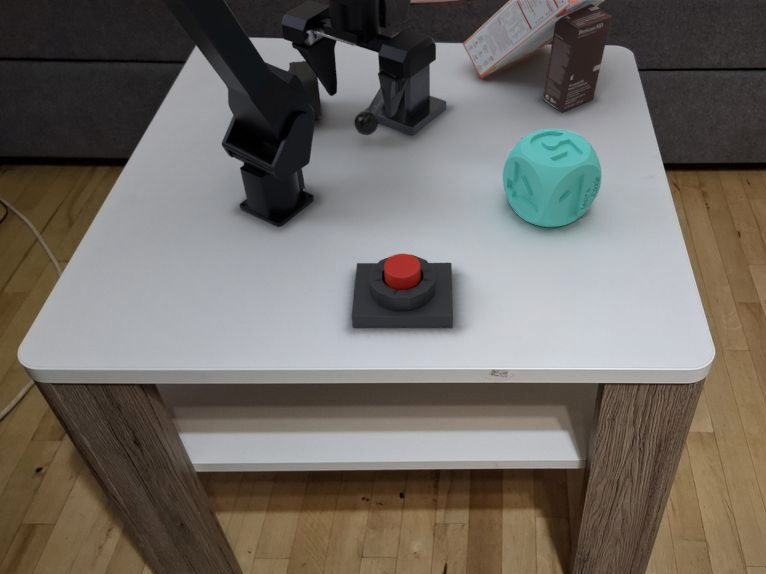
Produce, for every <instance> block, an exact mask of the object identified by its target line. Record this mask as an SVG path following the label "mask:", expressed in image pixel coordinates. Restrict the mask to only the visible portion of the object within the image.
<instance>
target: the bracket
mask: <svg viewBox="0 0 766 574" xmlns="http://www.w3.org/2000/svg"><path fill="white" fill-rule="evenodd" d="M398 33H399V32H396V33H395V34H393V35H392V36H391V37H394V36H395V35H397V34H398ZM378 55H379V53H377V56H378ZM430 65H431V63H430V64H429V65H428V66H426V67H425V68H424V69H422V70H421V71H419V72H418V73H417V74H415V75H414V76H413V77H411V78H409V79H408V81H407V83H406V85H405V88H404V91H403V94H402V97H401V100H400V103H399V105H398V108H397V111H396V114H395V115H394V116H392V117H389V116H388V114H387V111H386V109H385V104H383V106H382V108H381V110H380V111H379V113H378V115H377V120H378V124H380V125H382V126H385V127H388V128H391V129H394V130H397V131H399V132H401V133H403V134H407V135H410V136H412V137H413V136H415V135H416V134H418V132H419V131H421V130H422V129H424V128H425V127H426V126H428V124H430V123H431V122H433V120H435V119H436V118H437V117H438V116H440V115H441V114H442V113H444V111H446V110H447V100H445V99H441V98H439V97H437V96H432V95H431V78H430V77H431V70H430V69H431V67H430ZM382 70H383V69H382V68H381V67H380V65H379V64H378V71H379V72H380V71H382ZM379 72H378V73H379ZM380 87H381V86H380V85H379V88H380ZM368 108H369V106H368V107H367V108H365V109H364V110H363V111H367V109H368Z"/></svg>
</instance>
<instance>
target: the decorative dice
mask: <svg viewBox="0 0 766 574" xmlns="http://www.w3.org/2000/svg"><path fill="white" fill-rule="evenodd" d="M601 184H602V167H601V162H600V159H599V156H598V155H597V152H596V150H595V148H594V147H593V146H592V144H591V143H590V142H589V141H588V140H587V139H586V138H585V137H584V136H582V135H581V134H579V133H577V132H574V131H571V130H568V129H563V128H543V129H538V130H535V131H532V132H530V133H529V134H527V135H525V136H524V137H523V138H521V139H520V140H519V141H518V142H517V143H516V144H515V145H514V146H513V148H512V149H511V151H510V152H509V154H508V156H507V157H506V159H505V163H504V166H503V170H502V186H503V189H504V192H505V196H506V198H507V199H506V200H507V201H508V203H509V205H510V206H511V208H512V210H513V211H514V212H515V213H516V215H517V216H519V218H521V219H522V220H524V221H525V222H527V223H529V224H532V225H534V226H538V227H542V228H543V227H545V228H557V227H562V226H566V225H569V224H572V223H573V222H575V221H576V220H578V219H579V218H581V216H583V215H584V214H586V212H587V211H588V210H589V208H590V207H591V206H592V204H593V203H594V202H595V200H596V198H597V196H598V194H599V192H600V189H601Z"/></svg>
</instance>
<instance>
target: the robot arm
mask: <svg viewBox="0 0 766 574" xmlns="http://www.w3.org/2000/svg"><path fill="white" fill-rule="evenodd" d="M162 2H163V3H164V4H165V6H166V7H167V9H168V10H169V11H170V12H171V14H172V15H173V17H174V18H175V19H176V20H177V22H178V23H179V25H180V26H181V27H182V28H183V30H184V31H185V32H186V34H187V35H188V37H189V38H190V39H191V41H192V42H193V43H194V44H195V46H196V47H197V49H198V50H199V52H201V54H202V55H203V56H204V58H205V59H206V61H207V62H208V64H209V65H210V66H211V67H212V69H213V71H215V73H216V74H217V75H218V77H219V78H220V80H221V81H222V82H223V83H224V85H225V87H226V89H227V104H228V107H229V110H230V112H231V113H232V117H231V120H230V122H229V125H228V127H227V130H226V131H225V134H224V136H223V139H222V141H221V146H222V148H223V150H224V152H225V153H226V154H227V156H228V157H231V158H234V159H236V160H238V161H240V162H242V163H243V165H241V166H240V167H239V171H240V175H241V179H242V184H243V188H244V192H245V199H244V200H243V201H242V202H240V203H239V209H240V210H241V211H243V212H245V213H248V214H250V215H252V216H254V217H257V218H258V219H261V220H262V221H265V222H267V223H269V224H272V225H273V226H276V227H281V226H283V225H284V224H286V223H287V222H288V221H290V220H291V219H292V218H294V217H295V216H296V215H297V214H298V213H300V212H301V211H302V210H303V209H305V208H306V207H308V206H309V205H310V204H311V203H312V202H313V201H314V200H315V196H314V194H312V193H309V192H308V191H305V189H306V186H305V180H304V173H303V168H304V167H306V166H307V165H309V164H310V160H311V156H312V155H311V154H312V146H313V139H314V130H315V121H316V119H315V113H314V111H313V108H312V106H311V105H310V104H311V103H313V102H314V99H312V98H310V97H309V96H308V95H307V94H306V92H305V90H304V87H303V85H302V82H301V81H300V79H299V78H298V76H297V75H295V74H293V73H290V72H288V70H285V69H283V68H281V67H278V66H275V65H273V64H270V63H268V62H265V60H264V59H263V57H262V56H261V54H260V53H259V51H258V49H257V48H256V47H255V44H254V43H253V41H252V40H251V39H250V37H249V36H248V34H247V33H246V31H245V29H244V28H243V26H242V25H241V23H240V22H239V20H238V19H237V17H236V16H235V13H233V11H232V10H231V8H230V7H229V5H228V3H227V2H226V0H162ZM327 3H328V4H325V3H324V4H323V3H321V2H317V1H314V0H306V1H305V2H303V3H301V4H299V5H298V6H296V7H295V8H292V9H291V10H289V11H287V12H286V13H285V14H284V15H283V17H282V21H281V22H280V25H281V31H282V37H283V40H285V41H288V42H291V46H292V48H293V49H295V50H296V51H297V52H298V53H299V54H300V56H301V57H302V58H303V60H304V61H306V62H307V63H308V65H309V66H310V67H311V69H312V70H313V71H314V73H315V74H316V76H317V77H318V81H319V82H320V83H321V85H322V86H323V88H324V90H325V91H326V93H327V94H328V95H329V96H331V97H333V96H335V95H336V94H338V76H337V64H336V63H337V62H336V52H335V51H336V50H335V49H336V45H337V42H340V43H344V44H347V45H350V46H352V47H353V46H354V47H355V46H356V47H359V48H362V49H365V50H368V51H371V52H375V53H377V57H378V66H379V65H380V67H381V68H382V69H383V70H382V71H380V72H378V73H377V76H378V77H377V78H378V81H379V87H380V86H381V91H382V95H383V100H384V104H385V109H386V111H387V114H388V116H389V117H392V116H394V115H395V114H396V111H397V108H398V105H399V103H400V100H401V97H402V94H403V91H404V88H405V85H406V83H407V81H408V79H409V78H411V77H413V76H414V75H415V74H417V73H418V72H419V71H421V70H422V69H424V68H425V67H426V66H428V65H429V64H430V65H431V64H432V63H434V61H436V60H437V44H436V41H435V39H434V38H433V37H432V36H431V35H428V34H426V33H422V32H418V31H415V30H413V29H412V30H411V29H408V28H404V29H403V30H401V31H400V32H397V33H398V34H397V35H395V34H394V35H395V36H394V37H392V36H387V35H385V34H382V30H383V29H388V28H390V27H392V26H393V23H394V22H393V20H402V21H408V20H409V15H410V8H411V7H410V6H411V3H412V0H327ZM378 53H379V55H378Z"/></svg>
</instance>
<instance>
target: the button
mask: <svg viewBox="0 0 766 574" xmlns="http://www.w3.org/2000/svg"><path fill="white" fill-rule="evenodd" d="M412 255H413V254H410V253H396V254H393V255H390V256H391V257H390V256H389V257H390V258H388V257H387V258H388V259H387V260H386V262H385V264H384V274H385V282H386V283H387V285H388V286H389V287H391V288H393V289H396V290H409V289H411V288H414V287H415V286H417V285H418V283H419V282H420V279H421V273H420V262H419V260H418V259H417V258H416V257H414V256H415V255H414V256H412Z"/></svg>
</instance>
